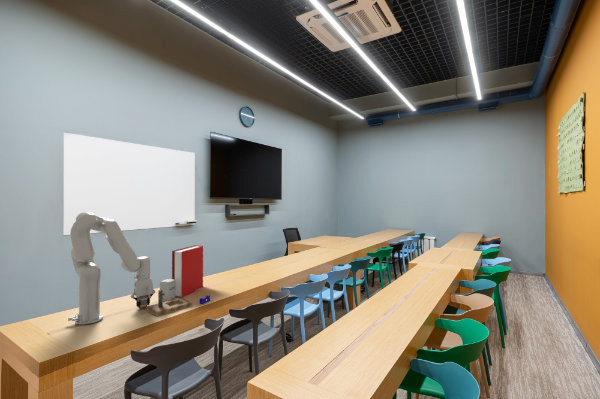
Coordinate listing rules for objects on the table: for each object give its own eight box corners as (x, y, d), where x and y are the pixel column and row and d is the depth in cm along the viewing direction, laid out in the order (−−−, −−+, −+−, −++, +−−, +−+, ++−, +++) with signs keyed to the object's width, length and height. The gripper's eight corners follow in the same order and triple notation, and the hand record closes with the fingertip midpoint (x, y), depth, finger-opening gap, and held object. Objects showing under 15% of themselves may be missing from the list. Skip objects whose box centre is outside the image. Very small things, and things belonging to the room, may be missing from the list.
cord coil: (140, 309, 183) (140, 296, 183) (137, 308, 186) (137, 295, 186) (148, 307, 187) (148, 295, 187) (145, 306, 190) (145, 293, 190)
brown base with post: (156, 316, 173) (157, 294, 173) (147, 310, 183) (147, 289, 183) (192, 306, 190) (192, 286, 190) (181, 301, 199) (181, 282, 199)
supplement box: (169, 301, 200) (169, 282, 200) (159, 300, 201) (159, 281, 201) (175, 297, 207) (175, 279, 207) (166, 296, 208) (166, 278, 208)
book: (181, 297, 206) (182, 251, 206) (171, 296, 208) (172, 250, 208) (204, 286, 233) (204, 245, 233) (194, 285, 235) (195, 245, 235)
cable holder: (205, 300, 201) (205, 294, 201) (210, 301, 200) (210, 295, 200) (197, 304, 193) (197, 298, 193) (202, 305, 192) (202, 299, 192)
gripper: (130, 280, 178) (130, 311, 178) (159, 275, 190) (159, 303, 190) (126, 278, 183) (126, 308, 183) (154, 273, 195) (154, 301, 195)
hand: (143, 305), depth 186 cm, fingers closed on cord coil, 4 cm apart
